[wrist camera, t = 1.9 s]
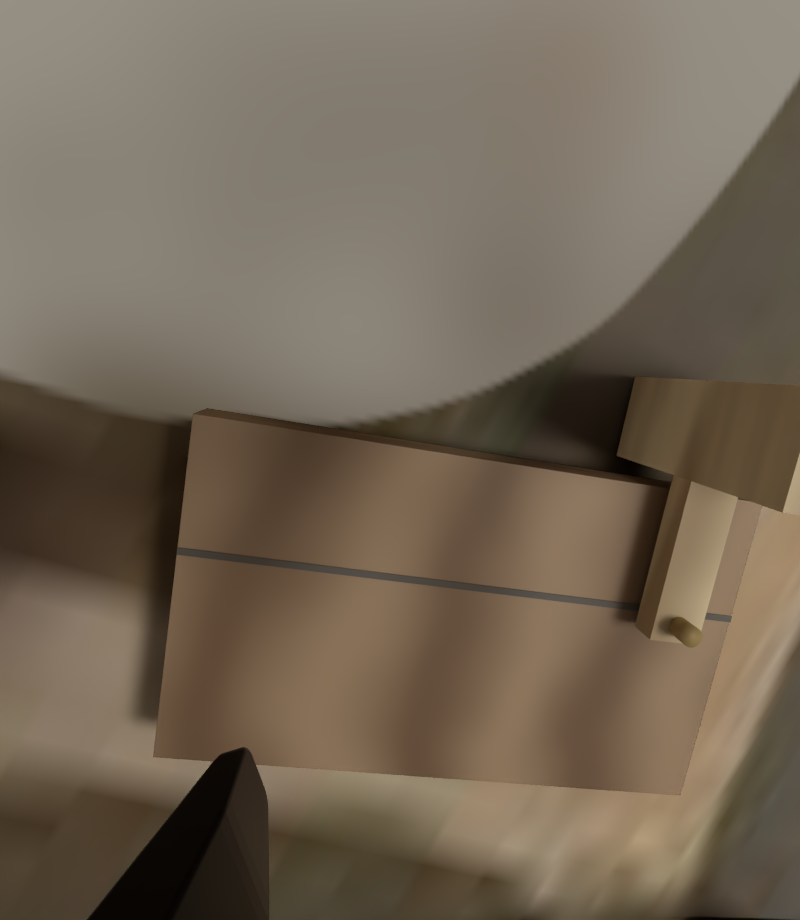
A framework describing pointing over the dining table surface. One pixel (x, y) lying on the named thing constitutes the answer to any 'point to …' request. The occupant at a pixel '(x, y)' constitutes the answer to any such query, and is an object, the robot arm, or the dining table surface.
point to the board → (427, 613)
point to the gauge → (707, 482)
